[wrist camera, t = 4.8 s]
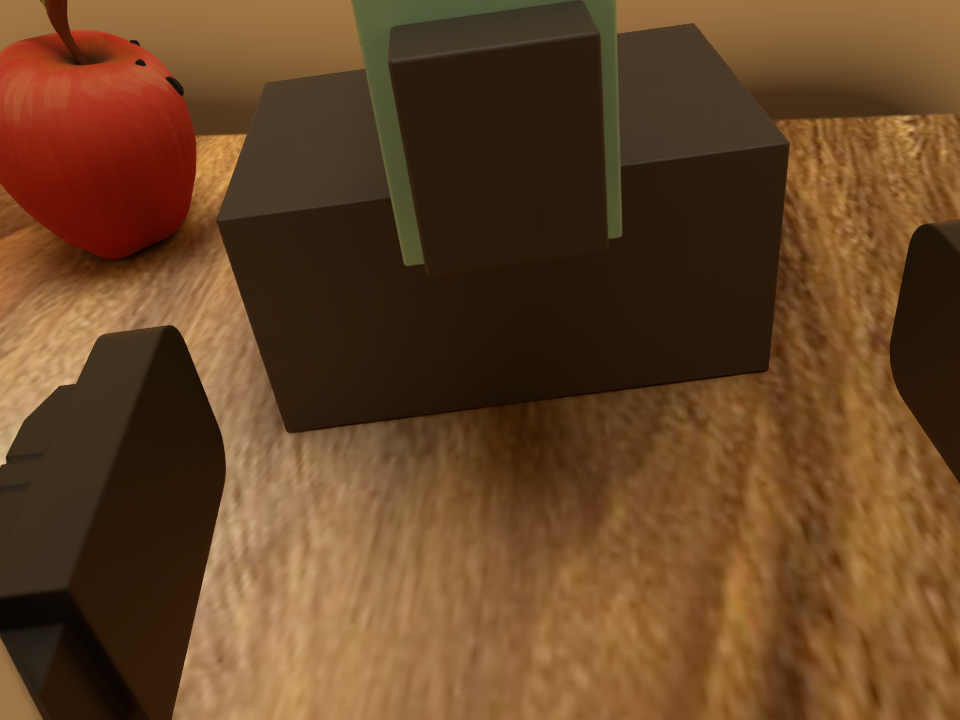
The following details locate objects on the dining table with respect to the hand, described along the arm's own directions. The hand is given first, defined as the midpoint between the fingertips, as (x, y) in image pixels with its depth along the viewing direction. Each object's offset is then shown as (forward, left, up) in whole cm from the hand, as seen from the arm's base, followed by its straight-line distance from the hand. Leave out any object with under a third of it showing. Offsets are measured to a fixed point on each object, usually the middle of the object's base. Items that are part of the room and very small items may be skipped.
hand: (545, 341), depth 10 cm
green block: (0, -11, 0) cm, 10 cm away
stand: (0, -13, -8) cm, 16 cm away
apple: (+13, -21, -9) cm, 26 cm away
